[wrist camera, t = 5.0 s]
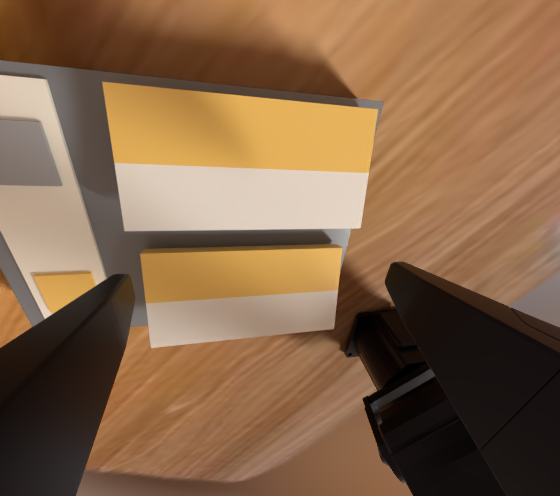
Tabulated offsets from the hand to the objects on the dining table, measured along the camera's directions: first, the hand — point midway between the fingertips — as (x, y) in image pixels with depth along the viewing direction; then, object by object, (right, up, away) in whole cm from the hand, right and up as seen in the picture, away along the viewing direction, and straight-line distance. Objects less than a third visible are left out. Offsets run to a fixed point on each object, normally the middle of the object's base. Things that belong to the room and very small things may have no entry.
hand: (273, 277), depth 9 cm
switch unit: (-5, +4, +9) cm, 11 cm away
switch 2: (-2, -2, +8) cm, 9 cm away
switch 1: (-1, +5, +4) cm, 7 cm away
